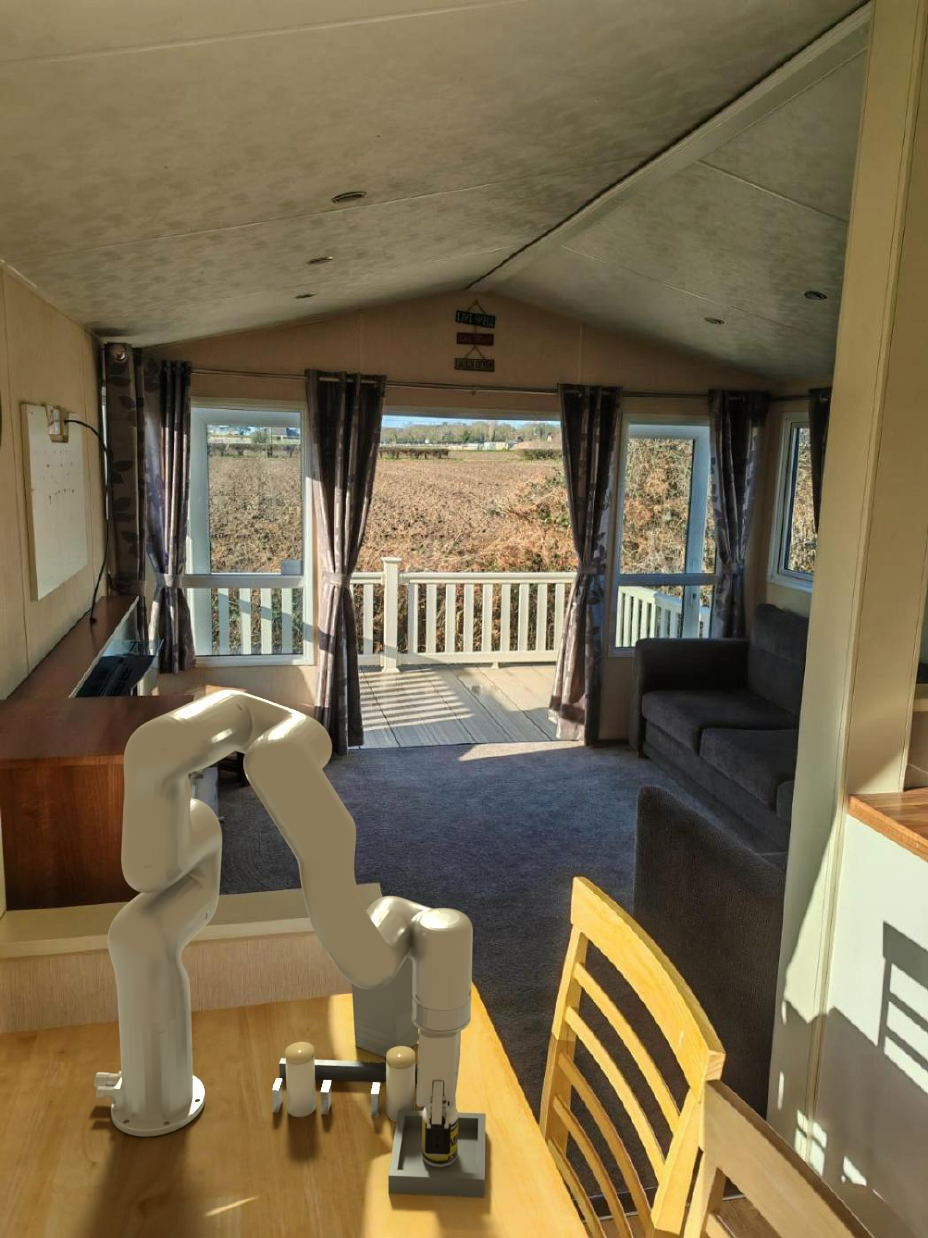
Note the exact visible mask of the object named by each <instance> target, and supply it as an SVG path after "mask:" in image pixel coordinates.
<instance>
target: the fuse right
mask: <svg viewBox="0 0 928 1238" xmlns="http://www.w3.org/2000/svg"><path fill="white" fill-rule="evenodd" d="M385 1060H386V1061H385V1062H386V1083H385V1093H386V1094H385V1114H386V1117H387V1118H388V1119H389V1120H391V1121H394V1122H397V1116H398V1110H410V1111H416V1107H415V1106H416V1103H415V1101H416V1099H415V1098H416V1095H415V1094H416V1087H415V1086H416V1084H415V1064H416V1052H415V1050H413V1048H412V1047H411V1048H409V1047H406V1046H397V1047H393V1048H391V1049H390V1050H389V1051H388V1052H387V1054H386V1058H385Z"/></svg>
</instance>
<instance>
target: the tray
mask: <svg viewBox="0 0 928 1238" xmlns="http://www.w3.org/2000/svg"><path fill="white" fill-rule="evenodd" d="M422 1113H423V1111H421V1110H415V1111H410V1110H398V1116H397V1121H395V1122H396V1124H395V1130H394V1137H393V1142H392V1143H393V1144H392V1149H391V1156H390V1163H389V1171H388V1187H387V1188H388V1191H387V1193H388V1194H397V1195H400V1194H401V1195H402V1194H403V1195H419V1196H420V1195H421V1196H424V1195H425V1196H442V1197H443V1196H446V1197H447V1196H449V1197H466V1198H467V1197H468V1198H485V1188H486V1187H485V1180H486V1179H485V1178H486V1177H485V1176H486V1128H487V1127H486V1124H487V1123H486V1121H487V1120H486V1118H487V1117H486V1116H487V1115H486V1114H487V1113H483V1112H482V1113H481V1112H477V1113H476V1112H458V1153H457V1158H456V1160H455V1161H454V1162H453V1163H452V1164H450V1165H448V1166H445V1167H434V1166H431V1165H429V1164H427V1163H426V1162H425V1161H424V1159H423V1157H422Z"/></svg>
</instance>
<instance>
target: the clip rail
mask: <svg viewBox="0 0 928 1238" xmlns="http://www.w3.org/2000/svg"><path fill="white" fill-rule="evenodd" d="M278 1064H279V1066H278V1068H279V1069H278V1070H279V1072H278V1073H279V1078H276V1079H275V1082H274V1084H273V1087H272V1113H280V1110H281V1107H282V1106H281V1105H282V1103H283V1080H286V1060H285V1057H284V1058H283V1057H282V1058H280V1061H279V1063H278ZM417 1071H418V1063H415V1085H417ZM315 1081H323V1083H322V1087H321V1090H320V1114H321V1115H329V1113H330V1109H331V1106H332V1105H331V1104H332V1081H333V1082H350V1083H351V1082H354V1083H355V1082H356V1083H372V1086H371V1087H372V1088H371V1091H370V1116H371V1117H379V1113H380V1107H381V1083H382V1084H386V1061H384V1062H382V1061H361V1060H360V1061H359V1060H358V1061H357V1060H356V1061H355V1060H336V1059H335V1060H334V1059H332V1060H331V1059H315ZM424 1108H425V1107H420V1111H423V1110H424Z"/></svg>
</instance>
